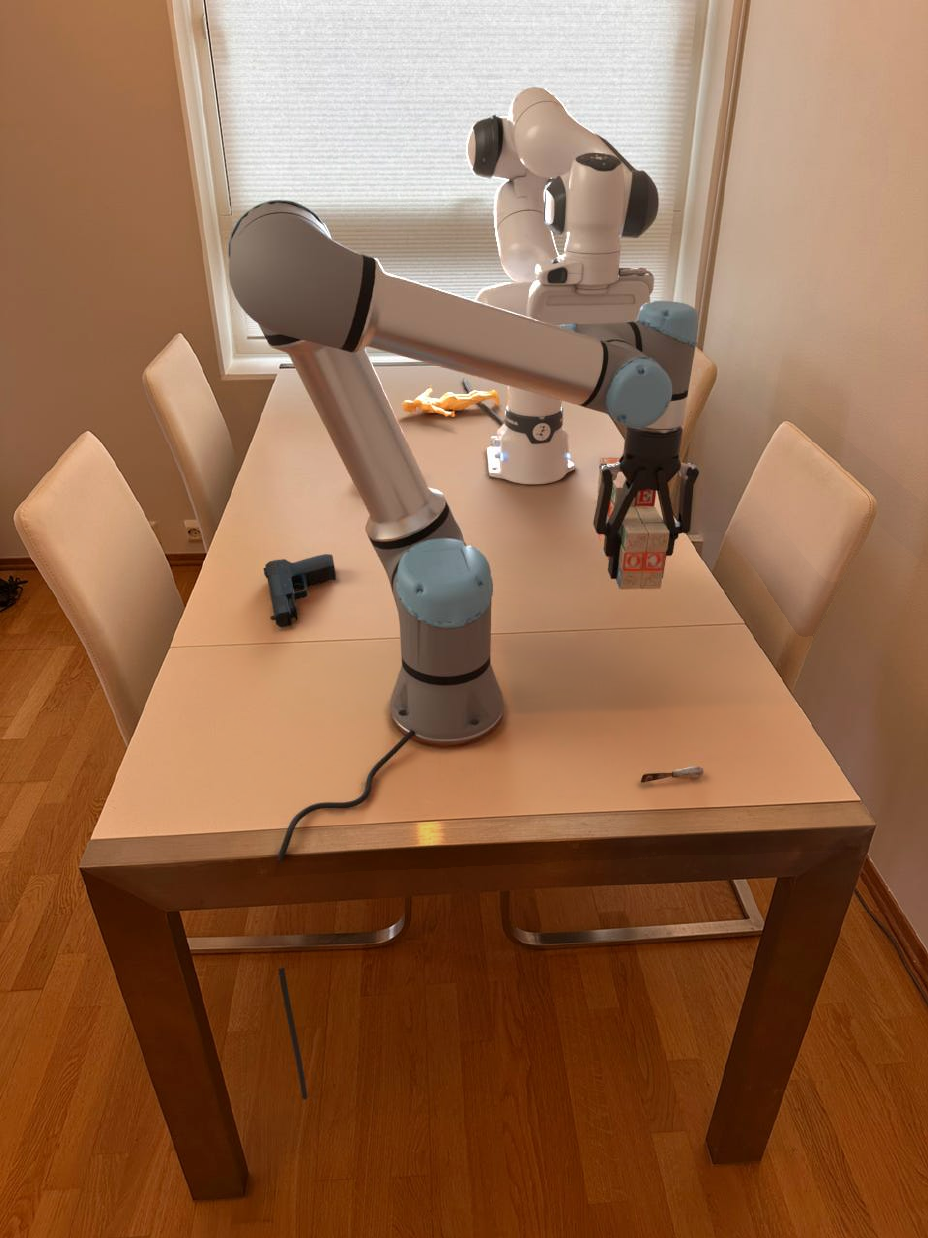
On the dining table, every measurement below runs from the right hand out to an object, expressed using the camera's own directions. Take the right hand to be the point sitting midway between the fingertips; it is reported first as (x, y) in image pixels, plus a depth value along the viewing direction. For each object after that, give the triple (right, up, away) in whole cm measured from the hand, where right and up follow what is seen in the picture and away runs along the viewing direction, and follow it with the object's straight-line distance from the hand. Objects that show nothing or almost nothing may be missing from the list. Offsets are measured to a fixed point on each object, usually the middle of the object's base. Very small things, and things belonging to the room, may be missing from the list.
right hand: (585, 355), depth 150 cm
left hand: (+5, -38, -18) cm, 42 cm away
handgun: (-47, -41, -3) cm, 62 cm away
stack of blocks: (+5, -35, -12) cm, 37 cm away
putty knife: (+5, -64, -41) cm, 76 cm away
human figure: (-24, +8, +76) cm, 80 cm away
